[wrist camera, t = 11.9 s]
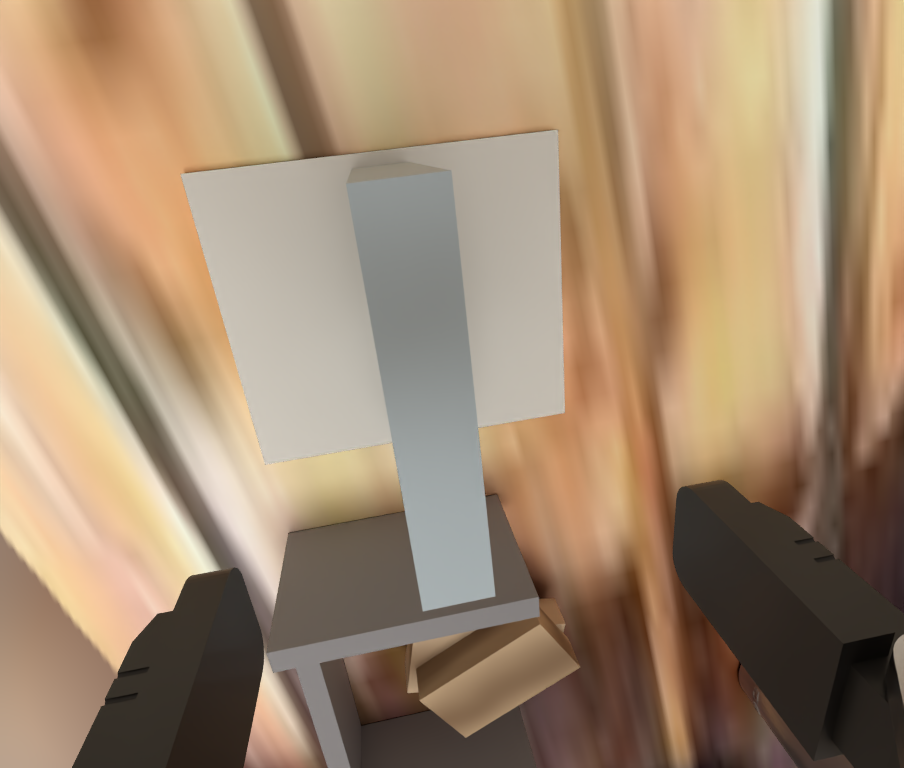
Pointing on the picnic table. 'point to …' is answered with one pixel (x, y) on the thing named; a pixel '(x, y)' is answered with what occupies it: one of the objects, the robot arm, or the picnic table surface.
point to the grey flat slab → (425, 371)
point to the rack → (388, 639)
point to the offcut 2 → (494, 671)
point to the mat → (344, 299)
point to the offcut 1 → (431, 648)
